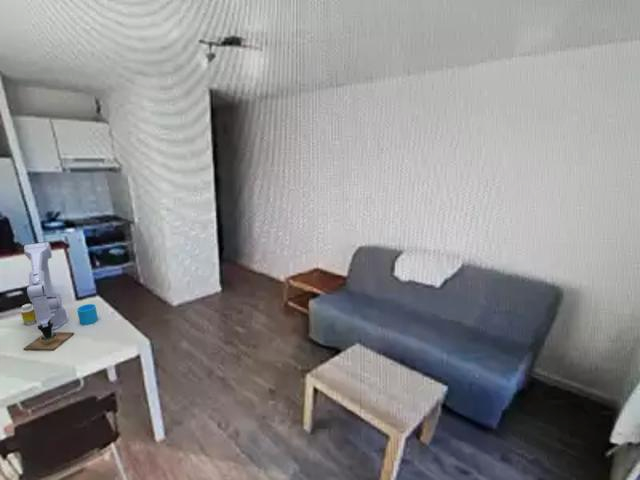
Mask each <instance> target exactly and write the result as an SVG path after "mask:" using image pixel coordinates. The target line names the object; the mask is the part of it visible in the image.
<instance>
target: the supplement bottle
mask: <svg viewBox="0 0 640 480" xmlns="http://www.w3.org/2000/svg"><path fill="white" fill-rule="evenodd" d="M20 314H21V317H22V321H23V324H24V325H25V326H32V325H34V324H37V323H38V322H37V321H36V316H35V312H34V308H33V305H32V303H26V304H24V305H22V306H21V310H20Z"/></svg>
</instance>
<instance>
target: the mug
mask: <svg viewBox="0 0 640 480" xmlns="http://www.w3.org/2000/svg"><path fill="white" fill-rule="evenodd" d="M76 311H77V316H78V320H79V324H80V325H81V326H88V325H89V326H90V325H93V324H95V323H97V322H98V320H99V318H98V314H97V313H98V312H97V307H96V305H95V304H93V303H89V304H88V303H87V304H83V305H81V306H78V307H77V310H76Z"/></svg>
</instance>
